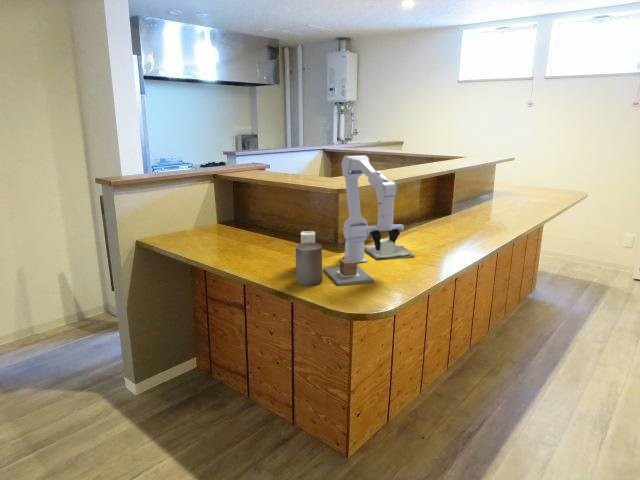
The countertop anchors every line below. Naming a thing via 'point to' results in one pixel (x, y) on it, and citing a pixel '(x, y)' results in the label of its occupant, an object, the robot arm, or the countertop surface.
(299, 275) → the pillar candle
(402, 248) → the dish towel
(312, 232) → the syrup box
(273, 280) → the countertop surface
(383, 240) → the sage block
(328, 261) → the countertop surface
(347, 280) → the base plate
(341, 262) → the walnut block
